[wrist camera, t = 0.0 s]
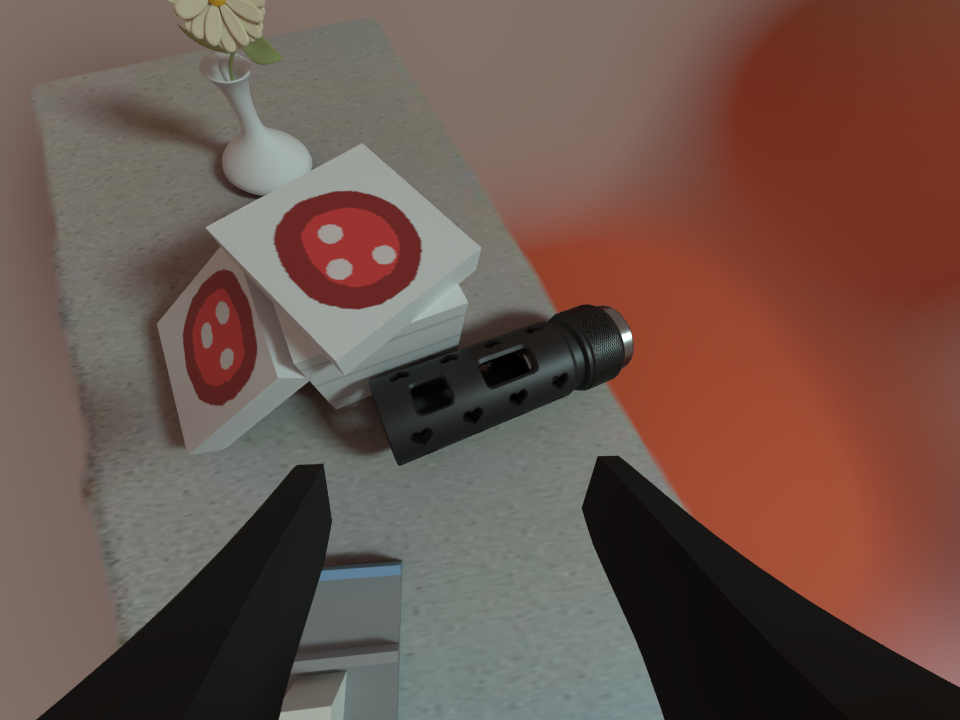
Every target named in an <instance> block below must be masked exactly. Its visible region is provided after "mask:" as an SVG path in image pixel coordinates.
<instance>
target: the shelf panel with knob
mask: <svg viewBox="0 0 960 720" xmlns="http://www.w3.org/2000/svg"><path fill="white" fill-rule="evenodd" d="M401 584H402V561H387V562H373V563H358V564H344V565H330V566H323V568H322V572H321V575H320V578H319V582H318V585H317V588H316V592H315V595H314V598H313V602H312V605H311V608H310V611H309V615H308V618H307V621H306V624H305V628H304V631H303V634H302V637H301V641H300V644H299V647H298V651H297V654H296V657H295V660H294V664H293V667H292V670H291V674H290V677H289V681H288V685H287V688H286V692H285V696H286V694H287V693H288V691H289V690H290V689H291V687H292V686H293V684H294V683H295V681H296V680H297V679H298V677H300V676H309V675H318V674H327V673H336V672H345V671H347V675H346V689H345V703H344V717H343V720H397V715H398V682H399V650H400V617H401ZM285 696H284V697H285Z"/></svg>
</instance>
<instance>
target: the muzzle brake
mask: <svg viewBox="0 0 960 720" xmlns="http://www.w3.org/2000/svg"><path fill="white" fill-rule="evenodd" d="M633 349H634V346H633V337H632V333H631V330H630V328H629V326H628V324H627V322H626V321H625V319H624V318H623V316H622V315H621V314H620V313H619V312H617V311H616V310H615V309H613V308H611V307H609V306H604V305H603V306H593V305H588V304H587V305H580V306H577V307H575V308H572V309H569V310H566V311H563V312H560V313H558V314H555V315H554V316H553V317H552V318H551V319H550V320H549V321H548V322H539V323H536V324H533V325H530V326H527V327H524V328H521V329H518V330H516V331H513V332H510V333H507V334H504V335H501V336H498V337H495V338H492V339H489V340H487V341H484V342H481V343H478V344H475V345H472V346H469V347H466V348H463V349H461V350H458V351H455V352H452V353H449V354H446V355H443V356H440V357H437V358H434V359H432V360H429V361H426V362H423V363H420V364H417V365H414V366H411V367H408V368H406V369H403V370H400V371H397V372H394V373H391V374H388V375H385V376H382V377H379V378H377V379H374V380H371V381H369V387H370V390H371V393H372V396H373V399H374V402H375V405H376V408H377V411H378V414H379V417H380V419H381V422H382V425H383V428H384V431H385V433H386V436H387V439H388V442H389V444H390V447H391V450H392V452H393V455H394V457H395V460H396V462H397V464H398V465H399V466H401V465H403V464H406V463H408V462H411V461H413V460H415V459H418V458H420V457H422V456H425V455H426V454H430V453H432V452H434V451H437V450H439V449H442V448H444V447H446V446H449V445H451V444H453V443H456V442H458V441H461V440H463V439H465V438H468V437H470V436H472V435H475V434H477V433H480V432H482V431H484V430H487V429H489V428H491V427H494V426H496V425H499V424H501V423H503V422H506V421H508V420H511V419H513V418H515V417H518V416H520V415H522V414H525V413H527V412H530V411H532V410H534V409H537V408H539V407H541V406H544V405H546V404H549V403H551V402H553V401H556V400H558V399H560V398H563V397H565V396H567V395H570V394H571V392H572V391H573V390H588V389H591V388H593V387H595V386H598V385H600V384H602V383H605V382H607V381H609V380H612V379H614V378H615V377H616V376H617V375H618V374H619V372H620V371H621V369H622V368H624V367H625V366H627V365H628V363H629V362H630V360H631V359H632V355H633ZM489 362H491V365H490V366H489V368H488V370H487V372H484V371H482V370H480V366H481V365H483V364H485V365H486V364H487V363H489ZM442 379H443V380H445V381H446V383H447V385H448V386H445V385H442V384H440V381H441V380H442Z"/></svg>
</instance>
